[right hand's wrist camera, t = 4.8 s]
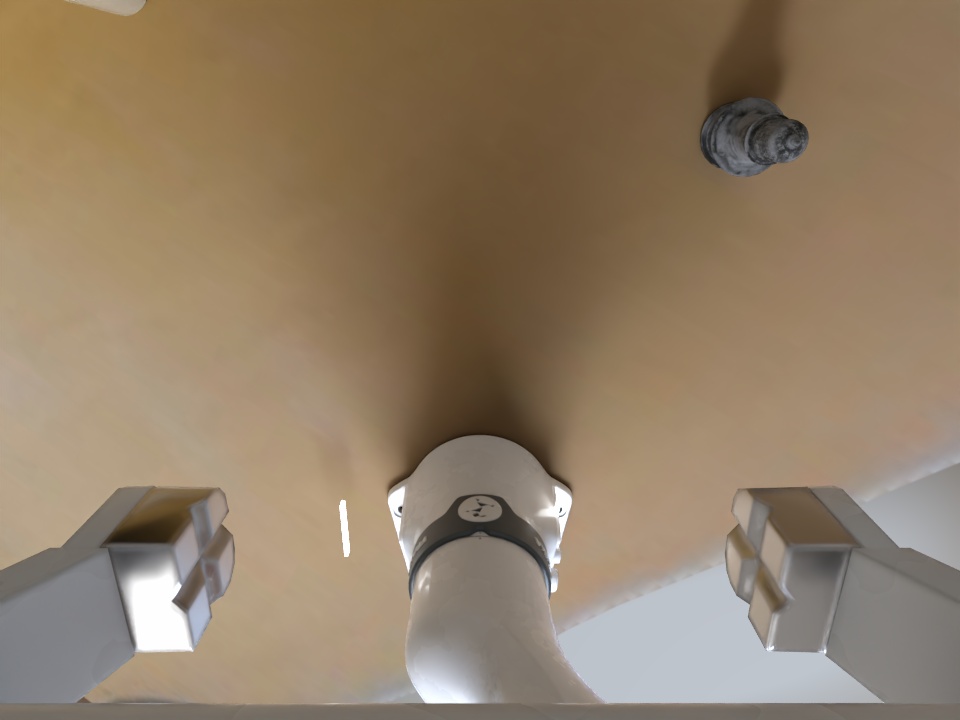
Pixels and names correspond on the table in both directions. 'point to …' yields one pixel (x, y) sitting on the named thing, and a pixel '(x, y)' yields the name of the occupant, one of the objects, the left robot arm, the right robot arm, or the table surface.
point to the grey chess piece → (751, 137)
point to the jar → (113, 5)
